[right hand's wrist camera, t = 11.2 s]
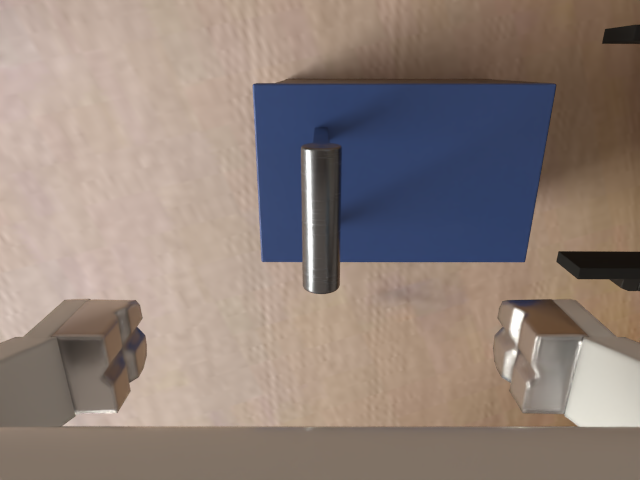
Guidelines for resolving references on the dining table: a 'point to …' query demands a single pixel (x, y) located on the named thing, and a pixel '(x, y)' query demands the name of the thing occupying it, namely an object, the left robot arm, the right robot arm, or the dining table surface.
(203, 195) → the dining table surface
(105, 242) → the dining table surface
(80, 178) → the dining table surface
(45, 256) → the dining table surface
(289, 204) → the lid
